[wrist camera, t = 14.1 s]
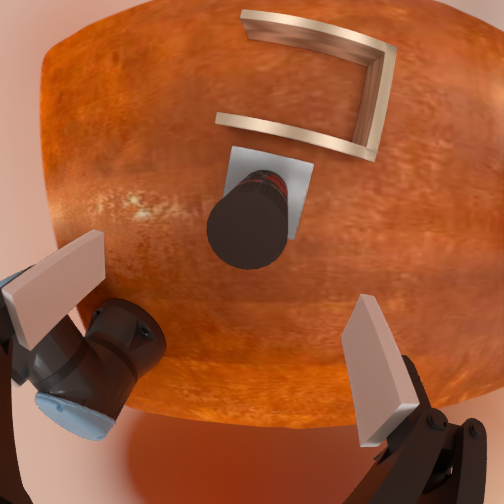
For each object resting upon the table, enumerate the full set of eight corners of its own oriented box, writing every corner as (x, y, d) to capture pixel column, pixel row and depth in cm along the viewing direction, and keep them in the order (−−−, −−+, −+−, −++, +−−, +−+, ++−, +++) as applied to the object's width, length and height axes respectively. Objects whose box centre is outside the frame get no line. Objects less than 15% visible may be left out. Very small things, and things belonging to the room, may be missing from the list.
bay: (229, 126, 32) (214, 123, 25) (250, 31, 26) (242, 9, 20) (357, 157, 31) (374, 162, 25) (377, 62, 26) (396, 47, 19)
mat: (219, 220, 37) (218, 222, 36) (233, 145, 33) (232, 145, 32) (293, 238, 36) (294, 240, 36) (313, 163, 32) (313, 164, 32)
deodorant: (233, 177, 34) (195, 204, 20) (280, 164, 32) (275, 182, 18) (247, 221, 36) (221, 276, 22) (293, 210, 34) (296, 260, 20)
